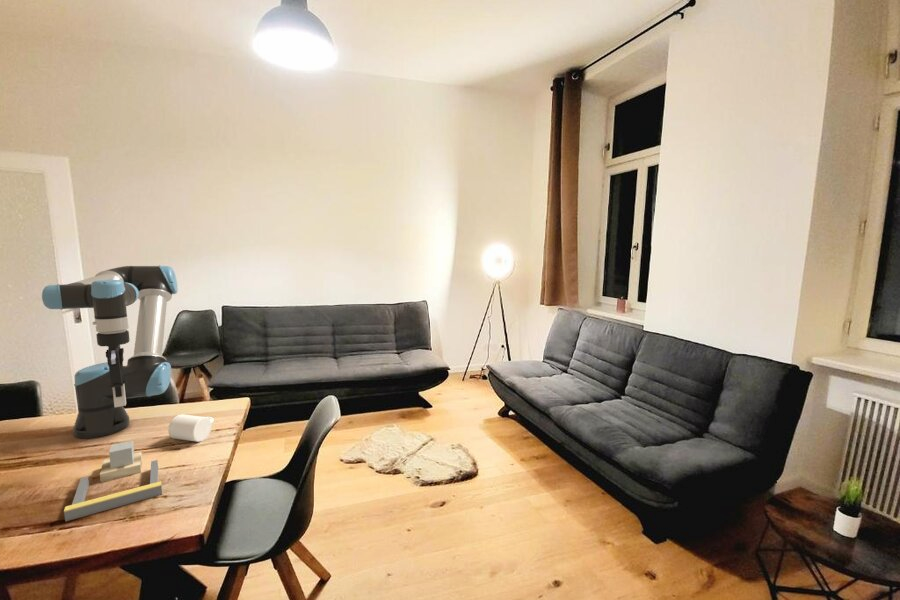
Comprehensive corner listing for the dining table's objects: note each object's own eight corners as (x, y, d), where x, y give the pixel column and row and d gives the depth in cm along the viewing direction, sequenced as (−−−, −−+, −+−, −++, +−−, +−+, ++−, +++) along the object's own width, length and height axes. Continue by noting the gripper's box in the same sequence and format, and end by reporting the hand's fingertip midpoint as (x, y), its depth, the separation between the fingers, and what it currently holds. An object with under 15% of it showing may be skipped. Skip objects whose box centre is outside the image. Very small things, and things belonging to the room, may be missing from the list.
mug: (194, 446, 133) (192, 423, 132) (168, 442, 135) (166, 420, 133) (221, 429, 144) (220, 408, 143) (197, 426, 146) (196, 406, 145)
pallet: (104, 469, 120) (103, 460, 119) (142, 460, 125) (141, 451, 124) (100, 484, 112) (99, 474, 112) (141, 474, 117) (140, 464, 117)
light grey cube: (113, 460, 119) (111, 444, 118) (134, 456, 121) (133, 440, 121) (110, 468, 115) (109, 452, 114) (132, 463, 117) (131, 447, 117)
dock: (76, 488, 109) (75, 478, 109) (162, 466, 120) (161, 458, 120) (65, 521, 97) (63, 511, 96) (162, 494, 107) (161, 484, 107)
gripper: (99, 328, 124) (107, 400, 127) (92, 337, 113) (101, 416, 117) (130, 325, 128) (136, 396, 132) (126, 334, 118) (134, 410, 121)
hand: (120, 405), depth 124 cm, fingers closed
